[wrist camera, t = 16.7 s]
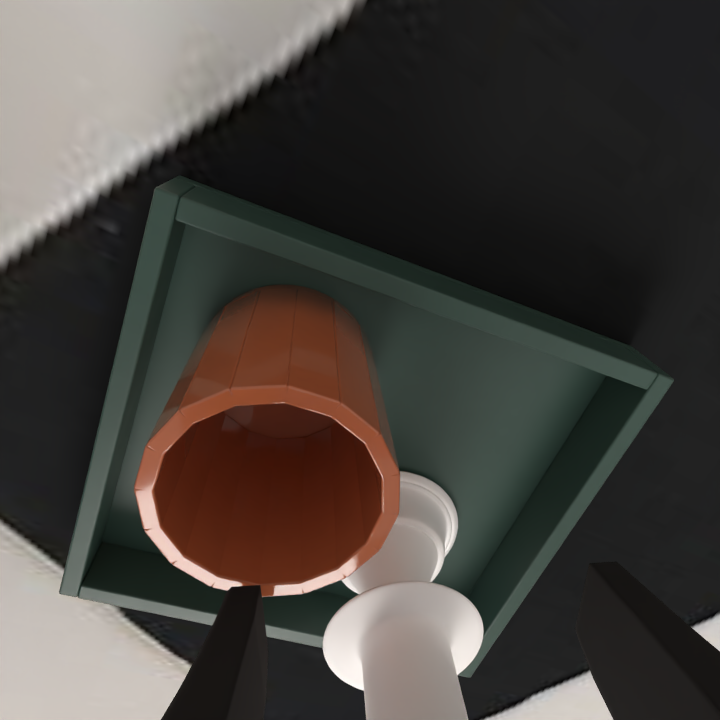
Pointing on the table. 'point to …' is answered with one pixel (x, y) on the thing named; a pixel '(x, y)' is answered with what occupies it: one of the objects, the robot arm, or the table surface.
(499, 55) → the table surface
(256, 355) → the cup
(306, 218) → the table surface
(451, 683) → the candle
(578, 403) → the tray
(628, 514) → the table surface
